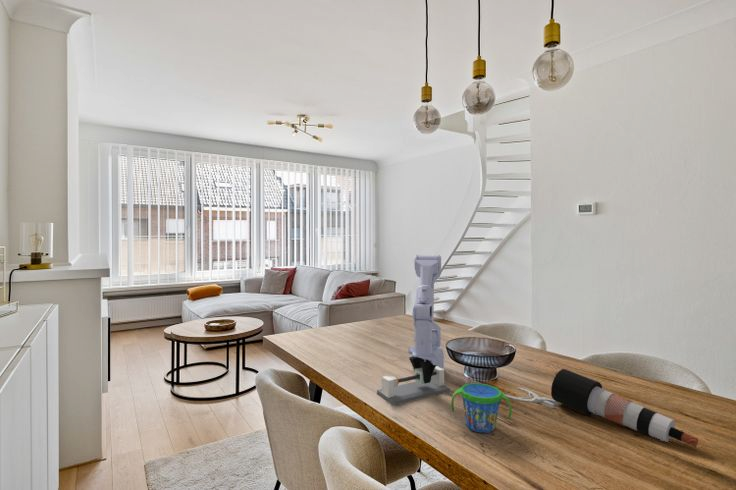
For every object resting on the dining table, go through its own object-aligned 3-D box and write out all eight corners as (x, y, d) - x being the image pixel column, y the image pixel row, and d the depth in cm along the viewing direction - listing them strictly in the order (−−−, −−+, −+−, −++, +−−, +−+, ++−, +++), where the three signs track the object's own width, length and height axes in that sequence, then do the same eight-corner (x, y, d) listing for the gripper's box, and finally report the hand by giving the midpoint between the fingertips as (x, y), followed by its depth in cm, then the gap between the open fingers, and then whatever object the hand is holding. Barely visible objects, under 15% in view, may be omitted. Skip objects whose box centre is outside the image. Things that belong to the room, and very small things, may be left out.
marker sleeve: (424, 378, 135) (424, 366, 135) (431, 382, 131) (431, 370, 131) (414, 380, 133) (414, 368, 133) (421, 384, 129) (421, 372, 129)
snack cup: (512, 423, 109) (512, 387, 109) (510, 442, 99) (511, 402, 99) (454, 414, 114) (454, 379, 114) (447, 431, 105) (448, 392, 104)
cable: (689, 472, 94) (688, 442, 90) (553, 407, 121) (548, 382, 118) (704, 442, 99) (703, 413, 95) (570, 386, 126) (566, 362, 122)
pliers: (518, 384, 134) (563, 398, 123) (518, 389, 134) (563, 403, 123) (502, 391, 128) (548, 407, 116) (502, 396, 128) (548, 412, 116)
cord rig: (431, 381, 140) (431, 363, 140) (449, 391, 131) (450, 372, 131) (377, 393, 129) (377, 373, 129) (393, 405, 121) (393, 384, 120)
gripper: (400, 336, 136) (400, 375, 136) (426, 346, 123) (426, 390, 124) (417, 333, 139) (417, 372, 140) (444, 343, 127) (444, 385, 127)
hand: (423, 380), depth 132 cm, fingers closed on marker sleeve, 4 cm apart
